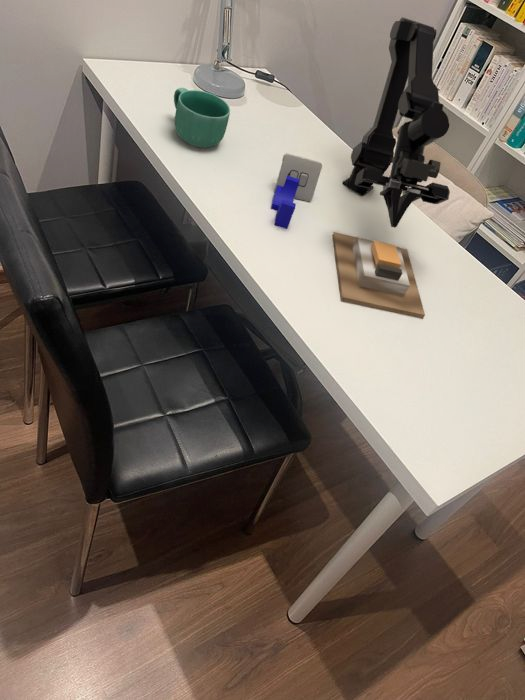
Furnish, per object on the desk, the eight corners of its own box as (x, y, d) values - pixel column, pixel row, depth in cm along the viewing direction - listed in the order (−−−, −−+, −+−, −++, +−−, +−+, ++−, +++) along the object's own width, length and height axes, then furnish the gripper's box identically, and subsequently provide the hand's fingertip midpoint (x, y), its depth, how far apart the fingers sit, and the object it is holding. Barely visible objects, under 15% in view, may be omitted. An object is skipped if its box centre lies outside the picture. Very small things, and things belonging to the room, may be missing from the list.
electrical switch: (273, 193, 135) (284, 156, 129) (272, 184, 139) (283, 147, 133) (311, 203, 137) (324, 167, 131) (309, 193, 141) (322, 157, 135)
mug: (231, 151, 143) (240, 115, 136) (189, 156, 136) (196, 118, 129) (196, 116, 150) (203, 81, 143) (154, 119, 143) (160, 82, 136)
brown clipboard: (332, 235, 130) (341, 213, 125) (405, 252, 133) (416, 231, 129) (340, 300, 115) (352, 278, 111) (422, 318, 118) (436, 297, 114)
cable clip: (273, 195, 135) (280, 173, 130) (291, 201, 135) (299, 179, 131) (267, 223, 126) (275, 200, 122) (286, 229, 127) (295, 207, 123)
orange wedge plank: (370, 246, 123) (373, 240, 122) (392, 251, 124) (395, 245, 123) (376, 265, 118) (379, 259, 117) (398, 270, 119) (401, 264, 118)
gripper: (379, 128, 109) (363, 210, 109) (470, 152, 112) (453, 231, 112) (361, 145, 120) (346, 219, 120) (444, 166, 123) (429, 238, 123)
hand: (393, 226), depth 119 cm, fingers closed
